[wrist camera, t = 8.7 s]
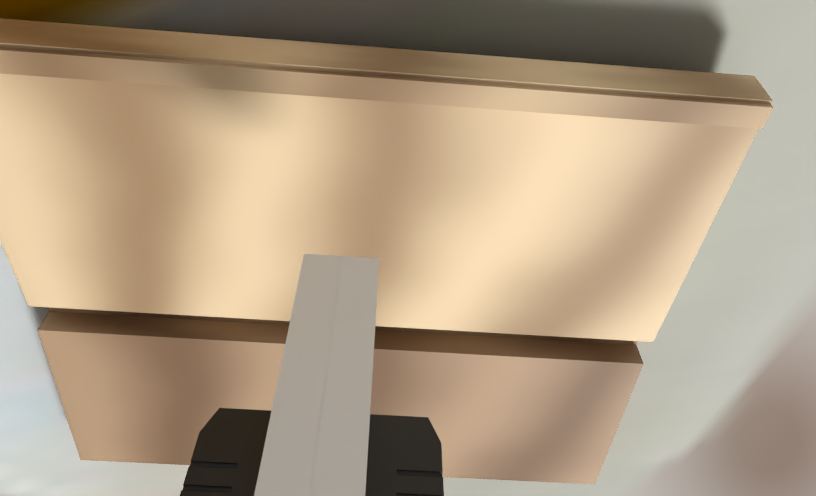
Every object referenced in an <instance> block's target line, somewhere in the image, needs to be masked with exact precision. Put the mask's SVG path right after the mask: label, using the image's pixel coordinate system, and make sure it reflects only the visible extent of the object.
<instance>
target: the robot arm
mask: <svg viewBox="0 0 816 496" xmlns="http://www.w3.org/2000/svg"><path fill="white" fill-rule="evenodd" d="M378 272H379V258H364V257H348V256H332V255H316V254H304V256H303V261H302V266H301V271H300V275H299V280H298V285H297V290H296V295H295V300H294V304H293V309H292V314H291V319H290V324H289V329H288V334H287V338H286V343H285V348H284V353H283V358H282V363H281V367H280V372H279V377H278V382H277V387H276V392H275V396H274V401H273V406H272V411H270V410H252V409H233V408H219V409H218V410H217V411H216V413H215V414H214V415H213V416H212V417H211V419H210V420H209V421H208V422H207V423H206V425H205V426H204V427H203V428H202V430H201V431H200V432H199V435H198V438H197V442H196V445H195V448H194V451H193V455H192V458H191V464H190V466H189V468H188V471H187V474H186V478H185V481H184V484H183V485H184V486H183V490H182V491H181V494H180V496H444V490H443V477H442V473H443V468H442V446H441V441H440V439H439V437H438V435H437V434H436V432H435V430H434V428H433V426H432V424H431V422H430V420H429V418H428V417H413V416H395V415H376V414H370V407H371V390H372V373H373V357H374V340H375V323H376V306H377V289H378Z"/></svg>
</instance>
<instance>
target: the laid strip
mask: <svg viewBox="0 0 816 496" xmlns="http://www.w3.org/2000/svg"><path fill="white" fill-rule="evenodd" d="M48 309H49V313H48V314H47V316H46V318H45V319H44V321H43V322H42V324H41V326H40V327H39V329H38V333H39V336H40V339H41V342H42V345H43V348H44V351H45V354H46V357H47V360H48V363H49V366H50V369H51V372H52V375H53V378H54V381H55V384H56V387H57V390H58V393H59V396H60V399H61V402H62V405H63V408H64V411H65V414H66V417H67V420H68V423H69V426H70V429H71V432H72V435H73V438H74V441H75V444H76V447H77V450H78V453H79V456H80V460H95V461H116V462H137V463H158V464H179V465H190V464H191V458H192V455H193V451H194V448H195V445H196V442H197V438H198V435H199V432H200V431H201V430H202V428H203V427H204V426H205V425H206V423H207V422H208V421H209V420H210V419H211V417H212V416H213V415H214V414H215V413H216V411H217V410H218V409H219V408H233V409H252V410H270V411H272V406H273V401H274V396H275V392H276V387H277V382H278V377H279V372H280V367H281V363H282V358H283V353H284V348H285V343H286V338H287V334H288V329H289V324H290V321H278V320H260V319H243V318H226V317H208V316H191V315H173V314H156V313H138V312H121V311H104V310H86V309H69V308H51V307H48ZM637 342H638V341H627V340H609V339H592V338H574V337H557V336H540V335H522V334H505V333H487V332H470V331H452V330H435V329H417V328H400V327H383V326H375V340H374V357H373V373H372V390H371V407H370V414H376V415H395V416H413V417H428V418H429V420H430V422H431V424H432V426H433V428H434V430H435V432H436V434H437V435H438V437H439V439H440V441H441V446H442V468H443V473H442V477H455V478H476V479H497V480H518V481H539V482H561V483H582V484H595V483H596V481H597V478H598V476H599V473H600V471H601V468H602V466H603V463H604V461H605V458H606V456H607V453H608V451H609V448H610V446H611V443H612V441H613V438H614V436H615V433H616V431H617V428H618V426H619V423H620V421H621V418H622V416H623V413H624V411H625V408H626V406H627V403H628V401H629V398H630V396H631V393H632V391H633V389H634V386H635V384H636V381H637V379H638V376H639V374H640V371H641V369H642V366H643V362H642V359H641V356H640V354H639V351H638V348H637V346H636V344H637Z"/></svg>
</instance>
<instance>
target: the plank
mask: <svg viewBox="0 0 816 496" xmlns="http://www.w3.org/2000/svg"><path fill="white" fill-rule="evenodd" d="M771 103H772V99H771V98H770V96H769V95H768V94H767V92H766V91H765V90H764V88H763V87H762V86H761V84H760V83H759V82H758V80H757V79H756V78H755V76H748V75H735V74H722V73H709V72H696V71H683V70H669V69H656V68H643V67H630V66H617V65H604V64H591V63H578V62H565V61H552V60H539V59H526V58H512V57H499V56H486V55H473V54H460V53H447V52H434V51H421V50H408V49H395V48H382V47H369V46H355V45H342V44H329V43H316V42H303V41H290V40H277V39H264V38H251V37H238V36H225V35H212V34H198V33H185V32H172V31H159V30H146V29H133V28H120V27H107V26H94V25H81V24H68V23H55V22H41V21H28V20H15V19H2V18H0V241H1V243H2V246H3V248H4V250H5V253H6V255H7V257H8V259H9V262H10V264H11V266H12V269H13V271H14V273H15V276H16V278H17V280H18V283H19V285H20V287H21V289H22V292H23V294H24V296H25V299H26V301H27V303H28V306H34V307H51V308H69V309H86V310H104V311H121V312H138V313H156V314H173V315H191V316H208V317H226V318H243V319H260V320H278V321H290V319H291V314H292V309H293V304H294V300H295V295H296V290H297V285H298V280H299V275H300V271H301V266H302V261H303V256H304V254H316V255H332V256H348V257H364V258H379V272H378V289H377V306H376V323H375V326H383V327H400V328H417V329H435V330H452V331H470V332H487V333H505V334H522V335H540V336H557V337H574V338H592V339H609V340H627V341H644V342H653V341H654V339H655V337H656V335H657V333H658V331H659V329H660V327H661V325H662V323H663V321H664V319H665V317H666V315H667V313H668V311H669V309H670V307H671V305H672V303H673V301H674V299H675V297H676V294H677V292H678V290H679V288H680V286H681V284H682V282H683V280H684V278H685V276H686V274H687V272H688V270H689V268H690V266H691V264H692V262H693V260H694V258H695V256H696V254H697V252H698V250H699V248H700V246H701V244H702V242H703V240H704V238H705V236H706V234H707V232H708V230H709V228H710V226H711V224H712V222H713V220H714V218H715V216H716V214H717V212H718V210H719V208H720V206H721V204H722V202H723V200H724V198H725V196H726V194H727V192H728V190H729V188H730V185H731V183H732V181H733V179H734V177H735V175H736V173H737V171H738V169H739V167H740V165H741V163H742V161H743V159H744V157H745V155H746V153H747V151H748V149H749V147H750V145H751V143H752V141H753V139H754V137H755V135H756V133H757V131H758V129H763V127H764V125H765V123H766V121H767V119H768V117H769V115H770V113H771V111H772V109H773V107H772V105H771Z"/></svg>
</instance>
